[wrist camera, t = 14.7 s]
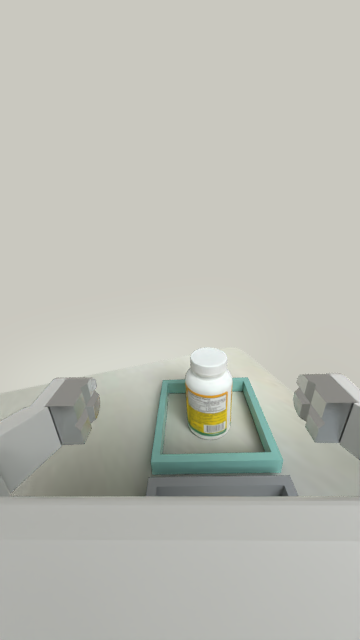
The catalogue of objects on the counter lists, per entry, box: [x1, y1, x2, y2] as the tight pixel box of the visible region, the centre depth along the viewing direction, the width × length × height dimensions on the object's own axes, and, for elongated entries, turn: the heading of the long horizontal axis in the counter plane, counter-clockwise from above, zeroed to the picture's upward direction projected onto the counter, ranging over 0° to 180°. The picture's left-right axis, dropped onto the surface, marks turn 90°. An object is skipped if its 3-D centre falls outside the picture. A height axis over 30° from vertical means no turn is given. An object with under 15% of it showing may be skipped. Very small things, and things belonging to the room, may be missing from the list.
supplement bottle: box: [185, 348, 233, 440], centre depth 26 cm, size 5×5×10 cm
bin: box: [151, 377, 283, 475], centre depth 27 cm, size 13×13×2 cm
